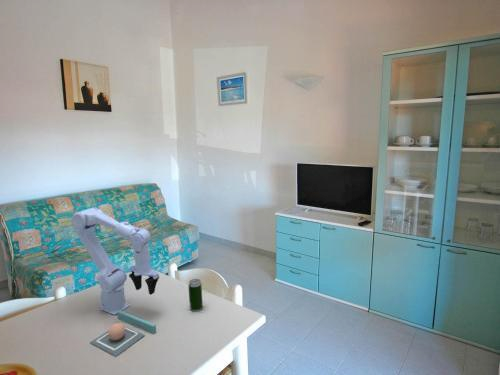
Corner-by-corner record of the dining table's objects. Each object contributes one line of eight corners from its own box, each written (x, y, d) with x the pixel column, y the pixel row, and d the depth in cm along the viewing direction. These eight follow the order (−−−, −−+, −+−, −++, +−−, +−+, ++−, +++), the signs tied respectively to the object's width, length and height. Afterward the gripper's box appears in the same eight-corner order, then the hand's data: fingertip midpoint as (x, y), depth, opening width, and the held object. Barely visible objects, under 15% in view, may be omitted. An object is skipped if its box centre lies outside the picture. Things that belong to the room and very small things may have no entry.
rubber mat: (90, 343, 108) (89, 340, 108) (119, 324, 118) (119, 322, 118) (116, 356, 101) (115, 354, 101) (144, 336, 111) (144, 333, 111)
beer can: (192, 313, 125) (191, 286, 123) (187, 307, 129) (186, 280, 127) (204, 309, 128) (203, 282, 126) (199, 303, 132) (198, 277, 130)
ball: (105, 340, 109) (103, 326, 108) (119, 331, 113) (117, 318, 112) (116, 345, 106) (114, 330, 105) (129, 336, 111) (127, 322, 110)
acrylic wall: (117, 318, 122) (117, 311, 122) (120, 317, 123) (119, 310, 123) (153, 333, 112) (153, 326, 112) (156, 332, 113) (155, 324, 113)
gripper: (122, 259, 122) (125, 291, 125) (147, 267, 115) (150, 300, 118) (136, 253, 128) (139, 283, 131) (161, 260, 121) (163, 292, 124)
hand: (145, 291), depth 124 cm, fingers open, 7 cm apart
